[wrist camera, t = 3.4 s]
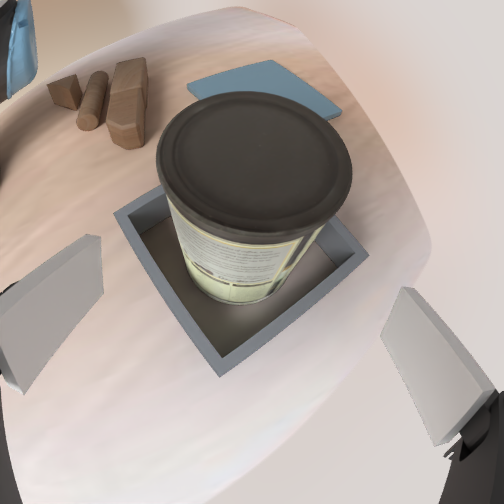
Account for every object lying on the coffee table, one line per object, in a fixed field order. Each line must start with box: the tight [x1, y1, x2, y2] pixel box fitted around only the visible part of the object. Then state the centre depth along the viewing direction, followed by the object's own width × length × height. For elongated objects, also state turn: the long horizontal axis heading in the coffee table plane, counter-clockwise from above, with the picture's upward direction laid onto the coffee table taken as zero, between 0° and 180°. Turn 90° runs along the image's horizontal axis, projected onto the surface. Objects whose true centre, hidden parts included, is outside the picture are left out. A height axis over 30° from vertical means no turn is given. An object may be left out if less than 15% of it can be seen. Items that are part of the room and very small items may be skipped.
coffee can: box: [156, 91, 352, 305], centre depth 20 cm, size 10×10×14 cm
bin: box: [113, 185, 370, 378], centre depth 25 cm, size 16×16×4 cm
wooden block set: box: [47, 57, 148, 150], centre depth 30 cm, size 17×6×18 cm
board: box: [187, 60, 342, 121], centre depth 36 cm, size 16×16×1 cm
